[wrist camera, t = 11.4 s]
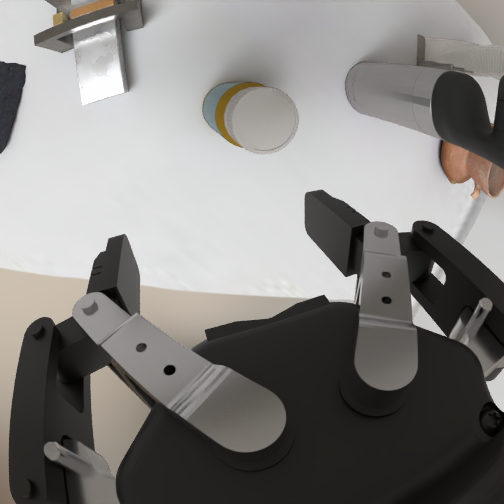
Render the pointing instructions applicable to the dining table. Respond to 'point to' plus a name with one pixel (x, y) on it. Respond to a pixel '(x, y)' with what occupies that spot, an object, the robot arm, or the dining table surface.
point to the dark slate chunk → (9, 96)
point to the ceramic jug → (472, 170)
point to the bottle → (252, 116)
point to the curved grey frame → (85, 22)
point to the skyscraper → (461, 57)
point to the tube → (98, 54)
